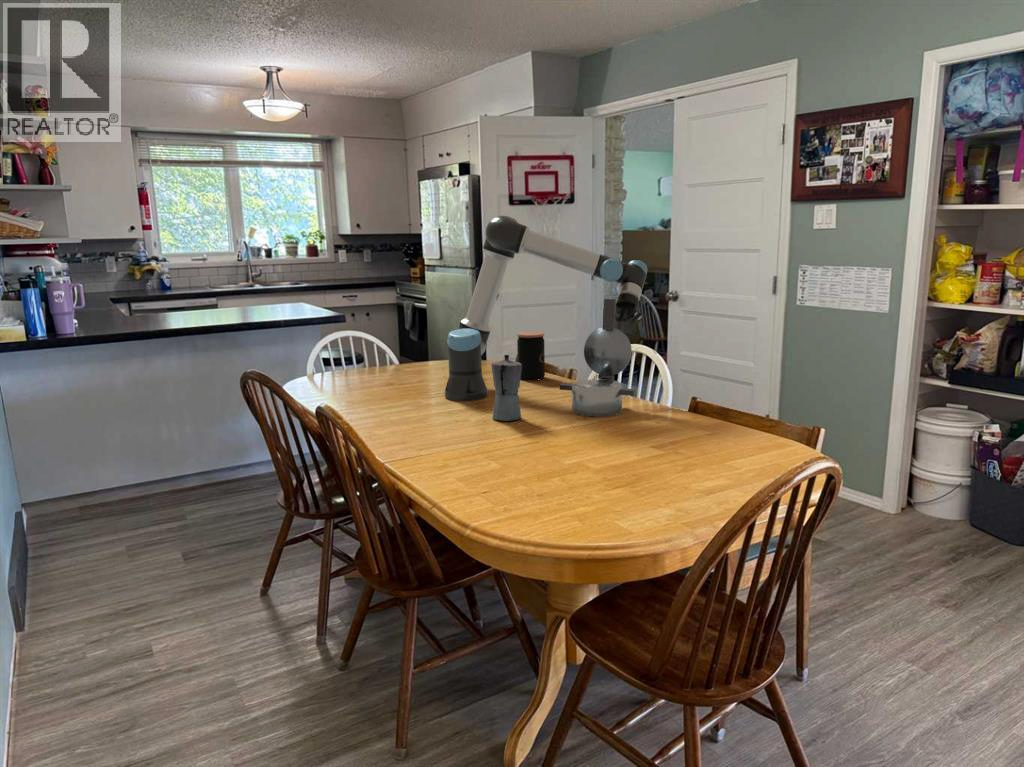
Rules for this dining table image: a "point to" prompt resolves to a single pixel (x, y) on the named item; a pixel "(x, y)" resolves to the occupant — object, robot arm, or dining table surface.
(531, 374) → the coffee jar
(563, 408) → the dining table surface
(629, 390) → the pot
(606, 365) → the lid
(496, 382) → the moka pot
